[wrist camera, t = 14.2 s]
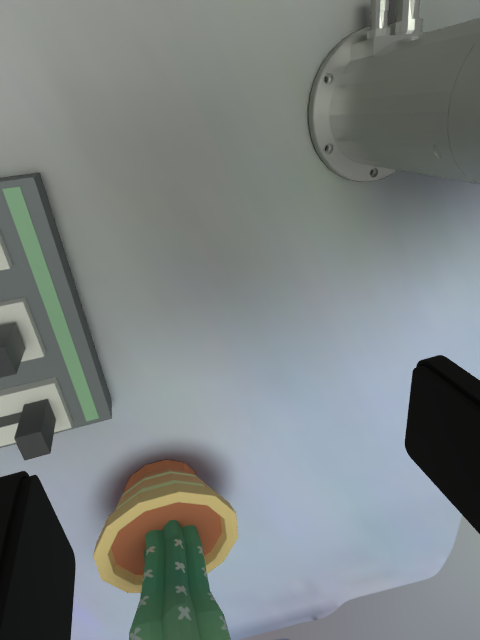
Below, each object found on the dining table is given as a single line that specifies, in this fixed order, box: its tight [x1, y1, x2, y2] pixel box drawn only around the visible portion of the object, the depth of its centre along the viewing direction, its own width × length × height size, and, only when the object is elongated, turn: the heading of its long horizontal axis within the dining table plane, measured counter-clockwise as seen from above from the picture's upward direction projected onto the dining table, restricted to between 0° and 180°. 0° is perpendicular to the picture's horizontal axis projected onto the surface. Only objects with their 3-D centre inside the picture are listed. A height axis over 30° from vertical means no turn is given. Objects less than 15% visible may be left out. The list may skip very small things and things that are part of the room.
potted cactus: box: [93, 460, 238, 640], centre depth 40 cm, size 15×15×25 cm
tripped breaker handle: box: [0, 323, 26, 378], centre depth 31 cm, size 2×2×4 cm
